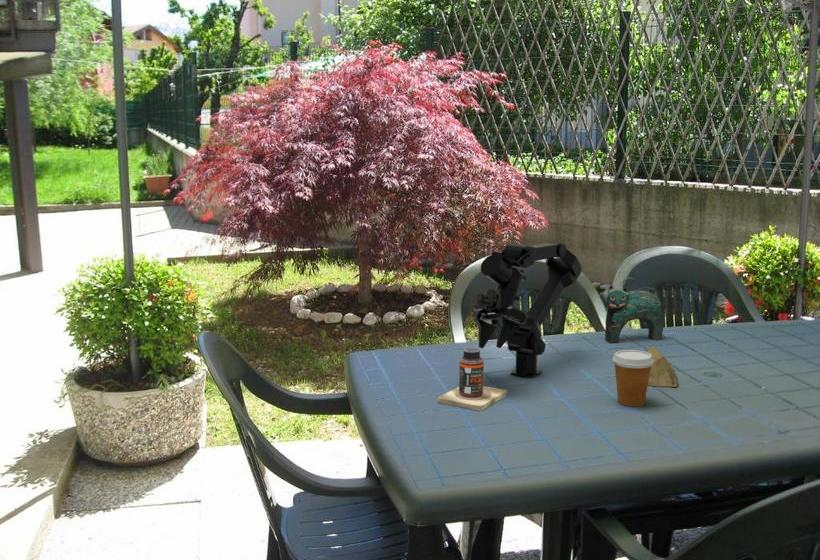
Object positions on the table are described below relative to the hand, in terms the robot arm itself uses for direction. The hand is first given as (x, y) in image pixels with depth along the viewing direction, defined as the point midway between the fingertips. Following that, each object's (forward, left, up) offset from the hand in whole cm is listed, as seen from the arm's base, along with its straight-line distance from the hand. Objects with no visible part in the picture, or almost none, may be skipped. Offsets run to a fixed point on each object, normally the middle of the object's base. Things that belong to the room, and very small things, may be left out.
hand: (489, 347), depth 220 cm
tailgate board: (+9, 0, -11) cm, 14 cm away
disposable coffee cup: (-9, +34, -11) cm, 37 cm away
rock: (-26, +35, -11) cm, 45 cm away
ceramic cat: (-66, +15, -11) cm, 69 cm away
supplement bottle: (+9, 0, -10) cm, 14 cm away
